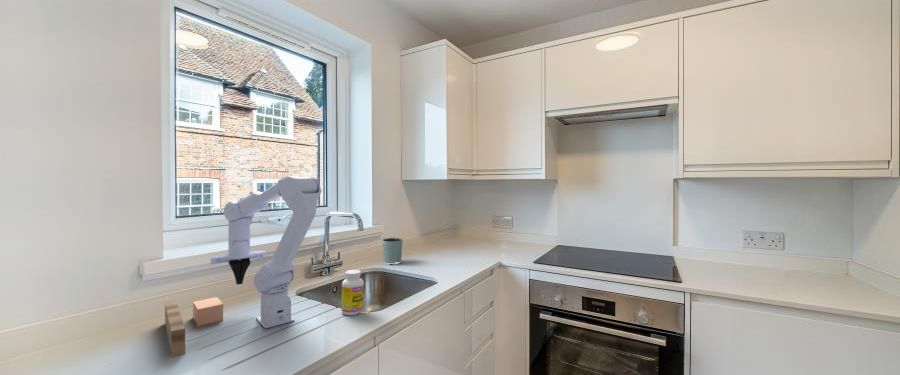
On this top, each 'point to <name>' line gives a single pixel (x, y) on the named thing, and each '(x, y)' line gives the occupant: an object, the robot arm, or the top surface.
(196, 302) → the block
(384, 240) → the green plant pot
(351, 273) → the supplement bottle
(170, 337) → the plank
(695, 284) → the top surface
